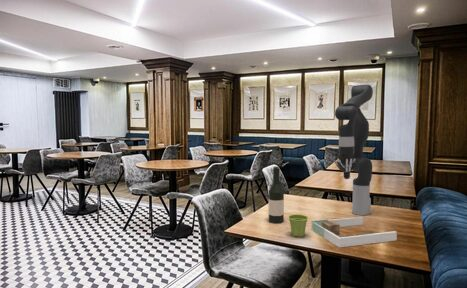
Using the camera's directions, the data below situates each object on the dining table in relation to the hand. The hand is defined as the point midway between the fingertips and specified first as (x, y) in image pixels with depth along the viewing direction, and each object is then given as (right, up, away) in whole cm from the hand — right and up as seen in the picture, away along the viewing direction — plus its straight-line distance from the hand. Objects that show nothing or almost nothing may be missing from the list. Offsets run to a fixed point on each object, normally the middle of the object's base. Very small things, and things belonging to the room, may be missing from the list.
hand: (346, 178), depth 163 cm
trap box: (-1, -26, -11) cm, 28 cm away
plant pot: (-27, -26, -10) cm, 39 cm away
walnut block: (-11, -26, -8) cm, 29 cm away
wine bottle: (-35, -25, +10) cm, 44 cm away
